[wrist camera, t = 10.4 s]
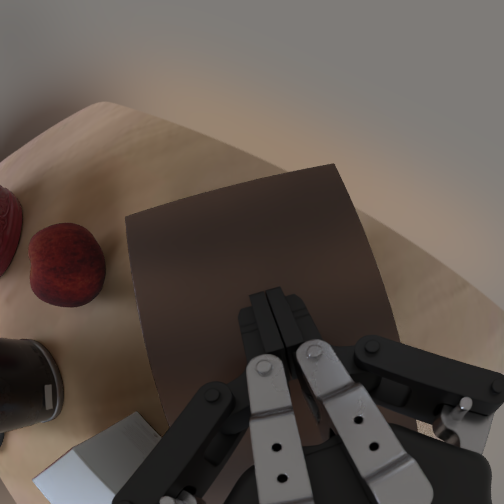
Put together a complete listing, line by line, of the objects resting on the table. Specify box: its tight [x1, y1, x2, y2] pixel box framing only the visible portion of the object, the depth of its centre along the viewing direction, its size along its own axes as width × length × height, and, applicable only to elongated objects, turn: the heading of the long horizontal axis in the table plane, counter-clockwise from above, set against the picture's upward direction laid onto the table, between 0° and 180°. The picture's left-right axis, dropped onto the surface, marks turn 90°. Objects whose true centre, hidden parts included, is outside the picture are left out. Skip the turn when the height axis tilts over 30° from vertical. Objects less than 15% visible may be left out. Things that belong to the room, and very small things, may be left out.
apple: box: [28, 223, 106, 307], centre depth 20 cm, size 7×8×8 cm
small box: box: [32, 411, 161, 504], centre depth 14 cm, size 8×6×10 cm
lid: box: [125, 164, 418, 504], centre depth 13 cm, size 18×13×1 cm
